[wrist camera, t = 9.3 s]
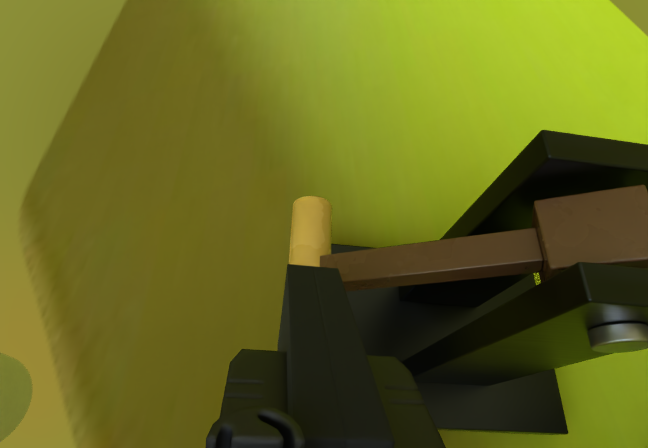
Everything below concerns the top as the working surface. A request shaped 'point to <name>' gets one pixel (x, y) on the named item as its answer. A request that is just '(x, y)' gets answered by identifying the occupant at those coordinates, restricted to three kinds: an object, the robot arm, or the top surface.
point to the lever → (488, 243)
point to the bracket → (514, 302)
